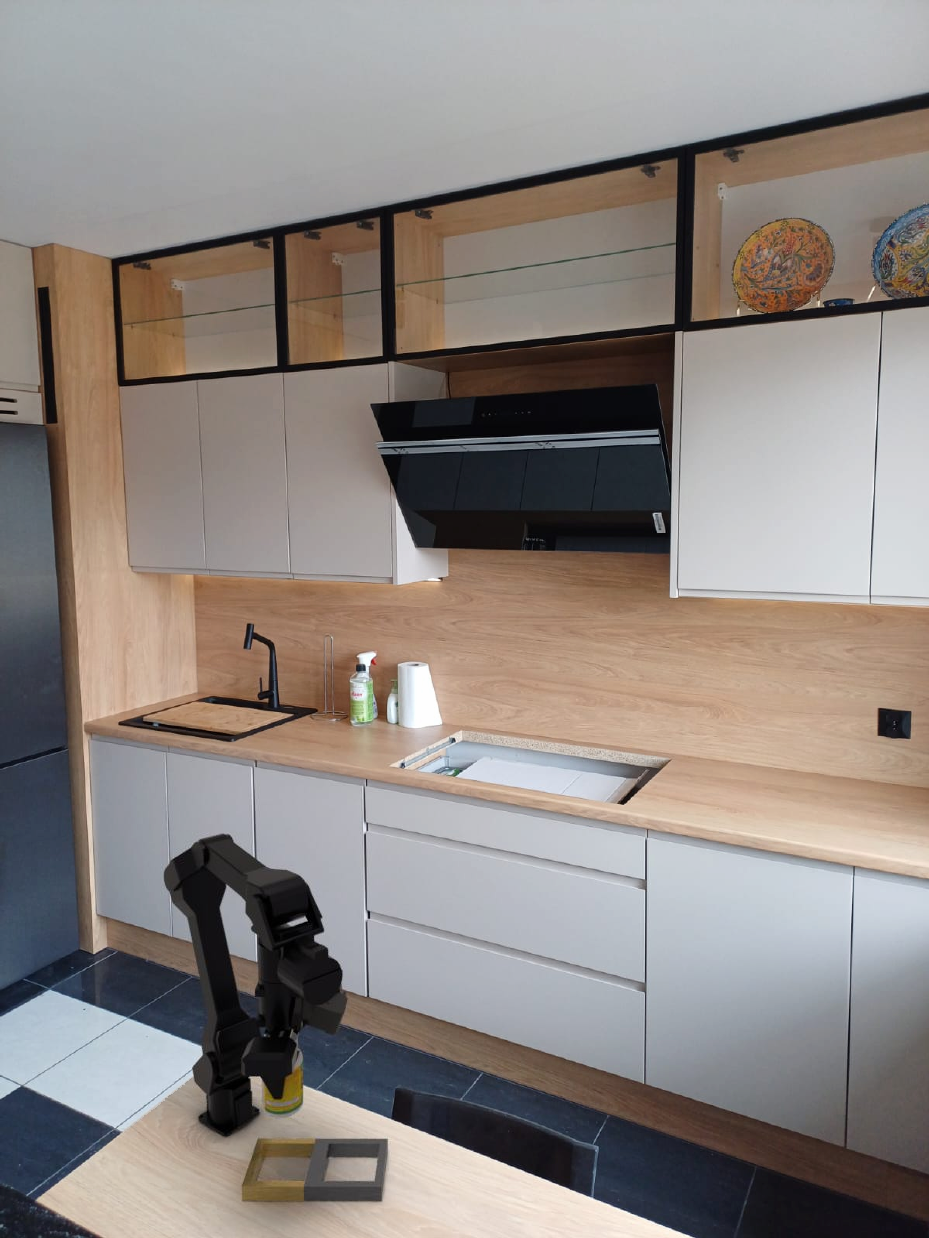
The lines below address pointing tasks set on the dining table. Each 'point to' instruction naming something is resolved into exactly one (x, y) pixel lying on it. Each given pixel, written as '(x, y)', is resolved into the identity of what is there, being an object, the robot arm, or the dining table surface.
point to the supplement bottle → (286, 1092)
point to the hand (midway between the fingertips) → (282, 1084)
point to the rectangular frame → (315, 1170)
